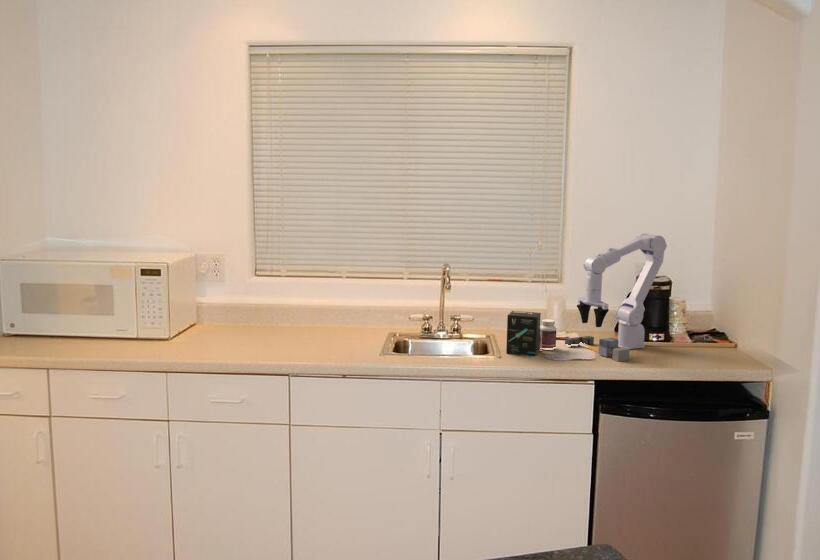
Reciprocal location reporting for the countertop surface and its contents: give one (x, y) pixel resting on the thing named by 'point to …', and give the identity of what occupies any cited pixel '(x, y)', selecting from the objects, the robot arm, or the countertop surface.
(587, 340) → the comb
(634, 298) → the robot arm
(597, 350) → the hammer
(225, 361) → the countertop surface
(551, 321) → the pill bottle
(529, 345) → the tampon box
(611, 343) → the sleeve
